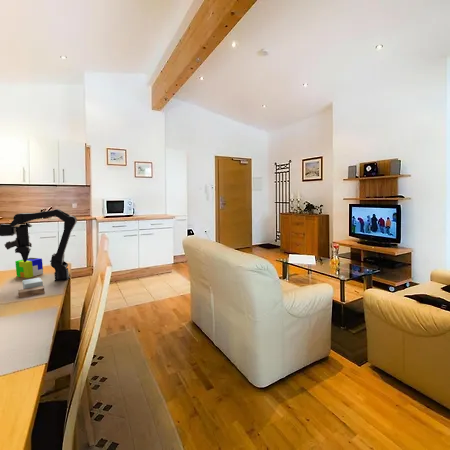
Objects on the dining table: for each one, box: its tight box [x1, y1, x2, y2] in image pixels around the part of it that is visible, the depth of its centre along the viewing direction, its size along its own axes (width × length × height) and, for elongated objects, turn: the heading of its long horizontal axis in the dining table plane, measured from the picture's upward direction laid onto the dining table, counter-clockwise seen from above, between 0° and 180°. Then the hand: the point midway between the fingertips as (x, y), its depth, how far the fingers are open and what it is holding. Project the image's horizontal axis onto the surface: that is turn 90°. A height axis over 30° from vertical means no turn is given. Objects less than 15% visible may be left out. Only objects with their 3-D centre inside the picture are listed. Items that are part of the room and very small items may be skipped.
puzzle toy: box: [15, 257, 44, 279], centre depth 180 cm, size 10×10×10 cm
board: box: [17, 285, 46, 299], centre depth 146 cm, size 11×5×3 cm, turn 125°
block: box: [21, 277, 44, 289], centre depth 153 cm, size 8×9×5 cm
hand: (25, 261), depth 163 cm, fingers closed
